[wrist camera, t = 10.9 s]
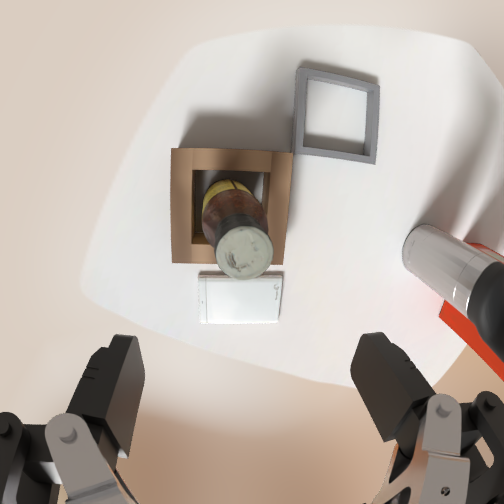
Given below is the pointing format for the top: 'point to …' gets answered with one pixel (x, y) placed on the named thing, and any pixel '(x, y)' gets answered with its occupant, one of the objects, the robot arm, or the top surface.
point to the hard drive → (239, 299)
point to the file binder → (468, 329)
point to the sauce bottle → (237, 230)
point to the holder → (191, 159)
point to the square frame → (332, 78)
